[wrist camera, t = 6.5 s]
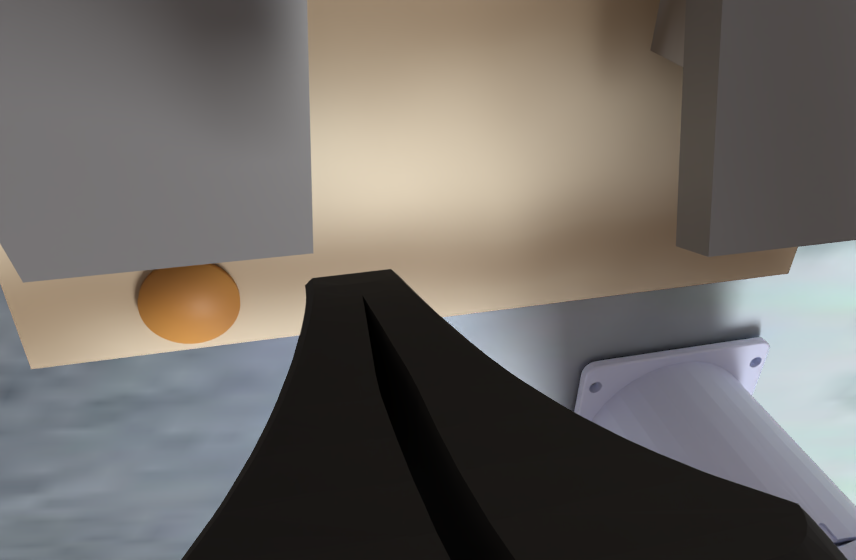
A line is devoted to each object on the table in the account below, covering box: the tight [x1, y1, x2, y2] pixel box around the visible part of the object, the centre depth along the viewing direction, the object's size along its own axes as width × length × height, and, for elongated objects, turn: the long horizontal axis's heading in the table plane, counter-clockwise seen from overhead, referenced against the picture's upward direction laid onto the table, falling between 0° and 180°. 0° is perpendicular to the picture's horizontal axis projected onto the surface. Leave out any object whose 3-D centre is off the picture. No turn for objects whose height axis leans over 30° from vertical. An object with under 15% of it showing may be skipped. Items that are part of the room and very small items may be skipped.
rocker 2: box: [676, 0, 856, 257], centre depth 15 cm, size 9×6×1 cm, turn 178°
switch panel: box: [0, 0, 798, 369], centre depth 16 cm, size 16×22×5 cm
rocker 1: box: [0, 0, 313, 283], centre depth 12 cm, size 9×6×1 cm, turn 179°
